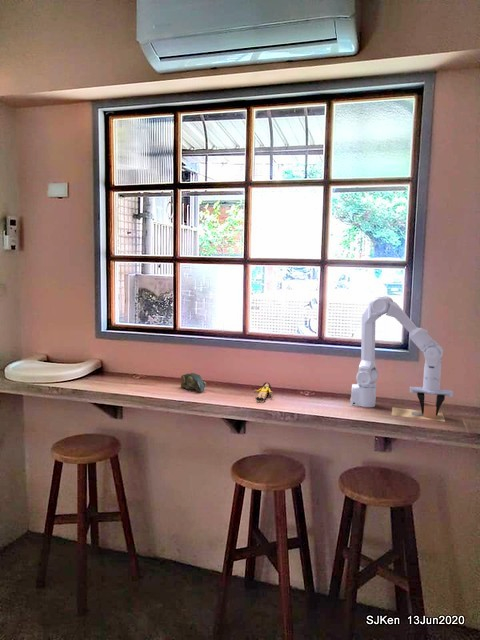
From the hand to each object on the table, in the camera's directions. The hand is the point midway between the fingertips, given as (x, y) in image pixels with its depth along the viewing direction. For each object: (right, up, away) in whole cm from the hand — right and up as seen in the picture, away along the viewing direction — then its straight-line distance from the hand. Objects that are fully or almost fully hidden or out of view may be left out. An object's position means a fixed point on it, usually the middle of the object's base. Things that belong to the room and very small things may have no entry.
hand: (429, 413), depth 172 cm
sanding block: (0, -1, 0) cm, 1 cm away
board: (-4, -2, +2) cm, 4 cm away
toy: (-60, +2, +22) cm, 64 cm away
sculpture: (-90, +4, +32) cm, 95 cm away
